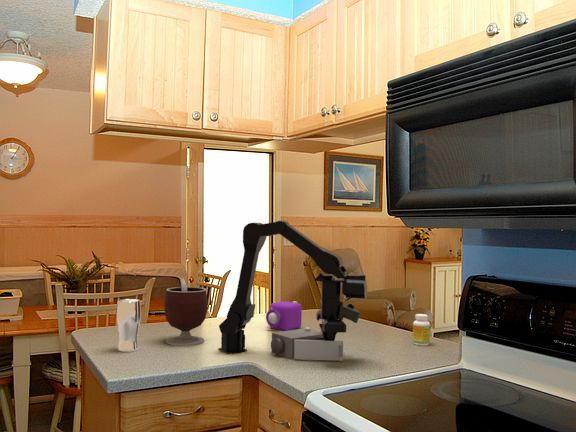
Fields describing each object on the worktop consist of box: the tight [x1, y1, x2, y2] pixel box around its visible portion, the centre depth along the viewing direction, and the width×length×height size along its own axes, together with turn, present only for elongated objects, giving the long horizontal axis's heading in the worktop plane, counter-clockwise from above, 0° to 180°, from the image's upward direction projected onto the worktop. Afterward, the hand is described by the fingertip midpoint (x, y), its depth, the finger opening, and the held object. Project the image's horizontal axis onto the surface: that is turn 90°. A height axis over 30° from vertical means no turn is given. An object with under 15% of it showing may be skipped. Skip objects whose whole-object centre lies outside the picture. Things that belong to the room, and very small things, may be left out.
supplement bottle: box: [412, 313, 431, 347], centre depth 186 cm, size 5×5×10 cm
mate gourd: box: [163, 277, 209, 347], centre depth 184 cm, size 16×14×20 cm
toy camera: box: [265, 300, 303, 331], centre depth 208 cm, size 11×14×10 cm
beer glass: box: [116, 298, 142, 353], centre depth 170 cm, size 7×7×15 cm
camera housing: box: [270, 326, 325, 360], centre depth 170 cm, size 16×10×7 cm, turn 127°
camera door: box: [293, 339, 344, 362], centre depth 161 cm, size 14×2×5 cm, turn 87°
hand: (330, 350), depth 163 cm, fingers closed
